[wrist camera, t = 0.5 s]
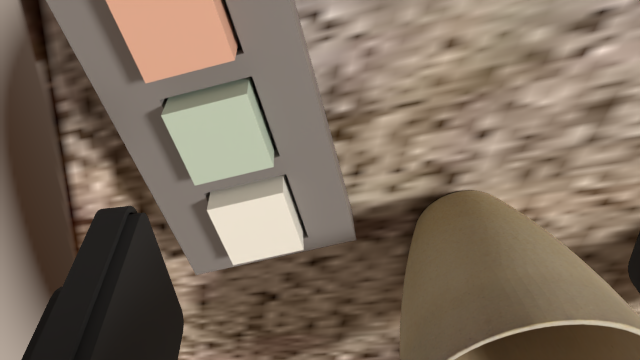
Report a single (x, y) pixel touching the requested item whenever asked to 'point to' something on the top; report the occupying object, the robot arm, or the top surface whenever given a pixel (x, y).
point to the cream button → (256, 220)
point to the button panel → (251, 61)
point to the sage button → (220, 131)
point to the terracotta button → (175, 35)
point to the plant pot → (505, 291)
